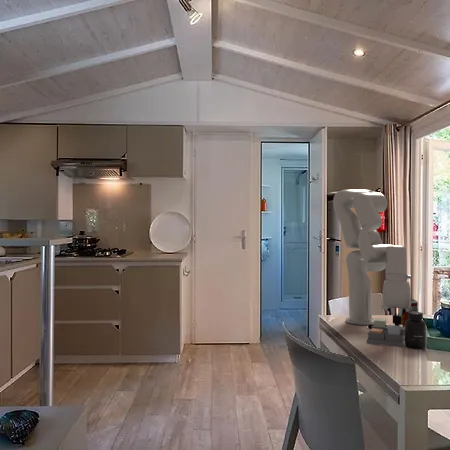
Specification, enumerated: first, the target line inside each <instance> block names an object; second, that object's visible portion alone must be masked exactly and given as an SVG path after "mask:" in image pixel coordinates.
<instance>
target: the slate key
mask: <svg viewBox="0 0 450 450" xmlns="http://www.w3.org/2000/svg"><path fill="white" fill-rule="evenodd" d="M388 325H389V326H388V334H392V335H400V334H401V326H396V325H391V324H388Z"/></svg>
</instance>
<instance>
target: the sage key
mask: <svg viewBox="0 0 450 450" xmlns="http://www.w3.org/2000/svg"><path fill="white" fill-rule="evenodd" d="M374 319H375V320H374V327H382V328H385V327H386V325H387V318H386V319H385V318H374Z"/></svg>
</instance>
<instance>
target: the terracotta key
mask: <svg viewBox="0 0 450 450" xmlns="http://www.w3.org/2000/svg"><path fill="white" fill-rule="evenodd" d="M371 333H381V334H383V329H375V328H372V327H371Z"/></svg>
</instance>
